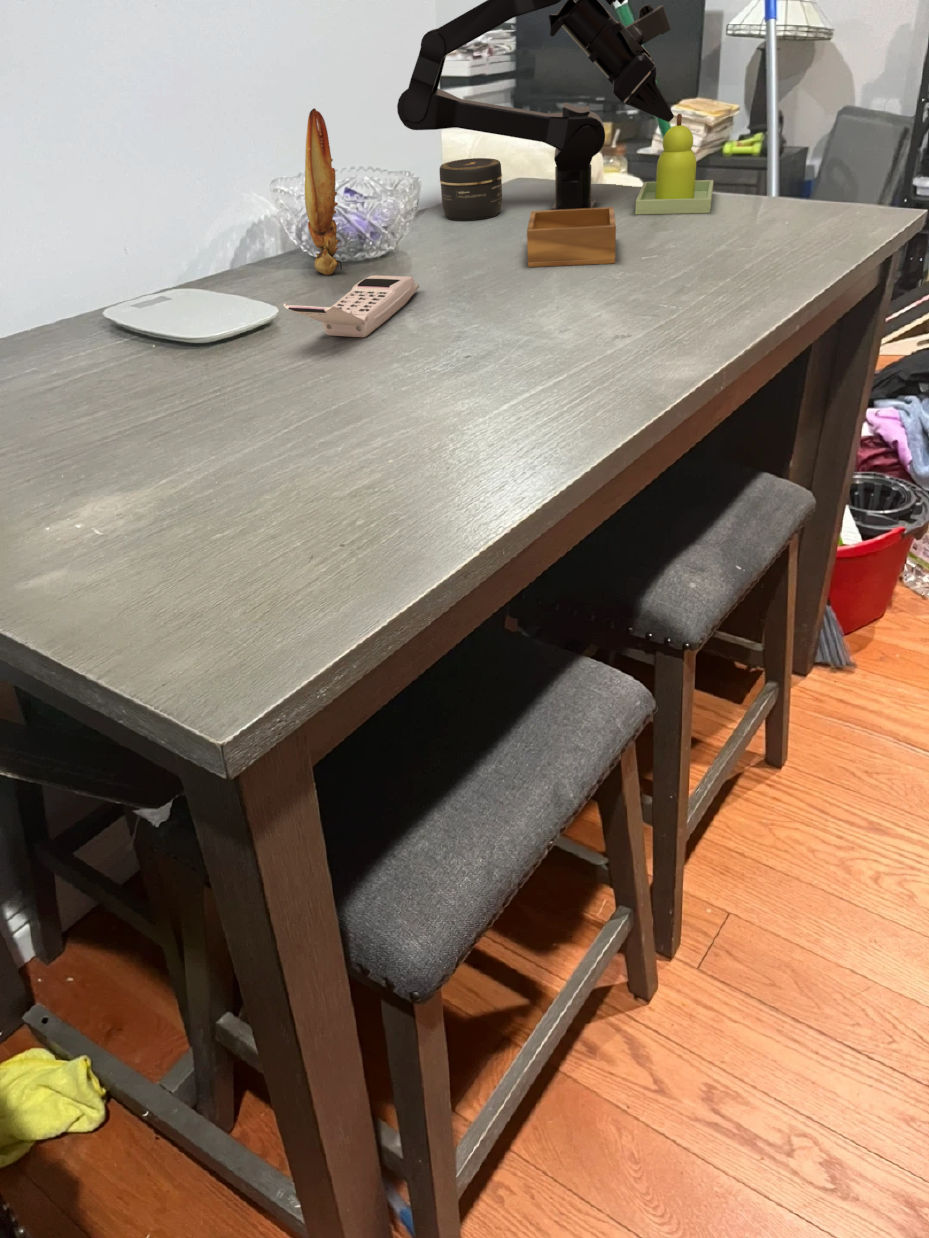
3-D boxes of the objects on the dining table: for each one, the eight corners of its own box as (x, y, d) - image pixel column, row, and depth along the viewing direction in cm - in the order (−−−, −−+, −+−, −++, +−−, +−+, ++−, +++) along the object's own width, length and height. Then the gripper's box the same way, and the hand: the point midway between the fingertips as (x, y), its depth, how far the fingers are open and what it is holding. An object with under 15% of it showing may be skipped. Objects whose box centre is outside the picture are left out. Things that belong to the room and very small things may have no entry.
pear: (653, 205, 142) (657, 117, 135) (657, 196, 147) (661, 111, 140) (692, 204, 141) (698, 115, 134) (695, 195, 146) (701, 110, 139)
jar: (506, 206, 151) (504, 156, 147) (500, 220, 143) (497, 167, 139) (448, 209, 153) (444, 159, 148) (438, 223, 145) (433, 171, 140)
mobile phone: (279, 305, 93) (375, 241, 112) (289, 361, 97) (381, 290, 115) (332, 308, 91) (421, 243, 110) (340, 364, 95) (425, 292, 114)
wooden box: (531, 245, 129) (531, 211, 126) (612, 241, 128) (613, 206, 125) (527, 267, 120) (526, 230, 117) (615, 263, 118) (615, 226, 116)
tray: (643, 195, 151) (643, 182, 150) (712, 193, 148) (713, 180, 147) (635, 214, 140) (635, 200, 139) (709, 213, 137) (710, 199, 136)
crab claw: (333, 283, 120) (307, 112, 109) (299, 282, 122) (270, 114, 110) (355, 269, 125) (333, 104, 114) (322, 268, 127) (297, 106, 115)
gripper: (641, -15, 121) (718, 75, 126) (637, -18, 136) (706, 63, 141) (581, 58, 126) (657, 142, 131) (583, 47, 141) (651, 123, 146)
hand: (669, 115), depth 137 cm, fingers open, 9 cm apart
